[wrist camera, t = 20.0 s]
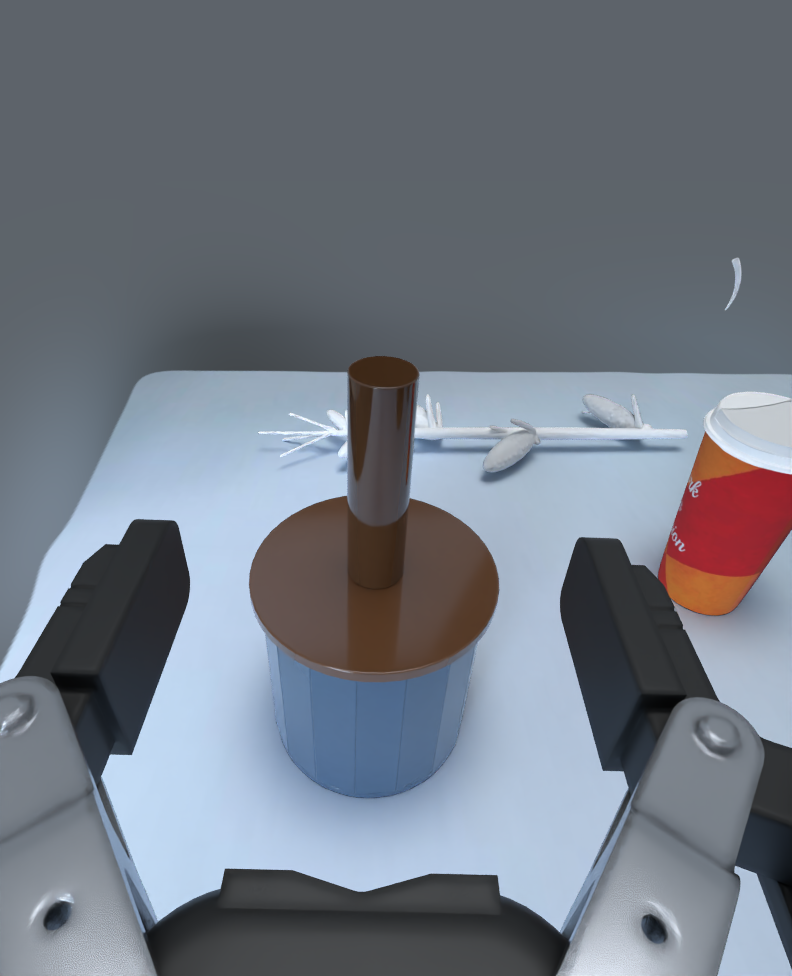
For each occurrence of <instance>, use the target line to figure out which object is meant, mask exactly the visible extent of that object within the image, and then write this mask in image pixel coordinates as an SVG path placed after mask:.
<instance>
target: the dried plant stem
mask: <svg viewBox="0 0 792 976" xmlns="http://www.w3.org/2000/svg"><path fill="white" fill-rule="evenodd" d="M732 263H733V266H734V270H735V287H734V291H733V294H732V297H731V299H730V302H729V304H728V305H727V307H726V309H727V308H728V307H729V306H730V305H731V303H732V302H733V300H734V298H735V296H736V294H737V292H738V289H739V286H740V282H741V264H740V260H739V258H735V259H733V260H732ZM726 309H725V310H726ZM631 401H632V407H633V412H634V415H633V414H632V413H631V412H630V411H628V410H627V409H626V408H625V407H622V406H621V405H619V404H617V403H615V402H613V401H611V400H609V399H607V398H604V397H601V396H598V395H592V394H588V395H585V396H583V403H584V405H585V407H586V408H587V409H588V410H589V412H586V411H582V412H581V413H591V414H592V415H593V416H595V417H596V418H597V419H598V420H600V421H601V422H602V423H604V424H605V425H607V426H609V428H546V427H533V426H531V425H530V424H528V423H525V422H523V421H520V420H516V419H511V423H513V424H515V425H518V426H519V427H497V426H490V427H467V428H443V422H442V414H441V408H440V404H439V402H437V403H436V418H437V423H436V422H435V419H434V415H433V410H432V404H431V400H430V396H429V395H426V409H427V411H426V410H424V409H423V408H422V407H420V406H419V405H417V411H416V424H415V436H414V438H423V439H428V440H439V439H502V440H501V441H500V442H499V443H497V444H496V445H495V446H494V447H493V448H492V449H491V451H490V452H489V453H488V454H487V456H486V458H485V460H484V462H483V468H484V470H485V471H487V472H497V471H500V470H504V469H506V468H507V467H510V466H512V465H514V464H515V463H516V462H517V461H519V460H520V459H521V458H522V457H524V456H525V454H526V453H528V452H529V451H530V449H531V447H532V446H533V445H534V444H535V445H539V444H540V440H615V439H685V438H687V437H688V435H687V430H683V429H653V428H652V426H651V425H649V424H644V423H643V422H642V418H641V415H640V412H639V408H638V404H637V400H636V397H635V395H634V394H632V395H631ZM289 415H291V416H294V417H296V418H299V419H301V420H304V421H307V422H309V423H312V424H315V425H318V426H320V427H322V428H325V429H327V430H326V431H308V432H269V431H267V432H261V431H260V432H258V434H303V435H307V436H298V437H290V438H283V439H282V440H283V441H286V440H295V439H304V438H311V437H318V438H316V439H314V440H312V441H309V442H307V443H305V444H303V445H301V446H298V447H296V448H294V449H292V450H290V451H288V452H286V453H283V454H281V455H280V457H283V456H286V455H288V454H290V453H292V452H294V451H296V450H298V449H301V448H303V447H305V446H307V445H309V444H312V443H314V442H316V441H318V440H321V439H323V438H326V437H328V436H347V410H345V417H344V416H343V415H341V414H340V413H338V412H336V411H334V410H328V411H327V416H328V418H329V419H330V421H331V422H332V423H333V424H334V425H335V426H336V427H337V428H338V430H336V429H335V428H333V427H330V426H326V425H323V424H320V423H318V422H315V421H312V420H309V419H307V418H304V417H301V416H298V415H296V414H293V413H289ZM338 456H339V457H340V458H347V442H346V443H344V444H343V446H342V447H341V448H340V450H339V452H338Z"/></svg>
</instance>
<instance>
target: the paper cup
mask: <svg viewBox="0 0 792 976" xmlns="http://www.w3.org/2000/svg"><path fill="white" fill-rule="evenodd" d="M703 425H704V429H705V434H704V437H703V440H702V443H701V445H700V448H699V451H698V454H697V457H696V460H695V463H694V466H693V469H692V472H691V475H690V477H689V480H688V483H687V486H686V489H685V492H684V495H683V498H682V501H681V504H680V507H679V509H678V512H677V515H676V518H675V521H674V524H673V527H672V530H671V533H670V536H669V539H668V542H667V545H666V548H665V551H664V554H663V557H662V561H661V564H660V568H659V572H658V580H659V581H660V582H661V583H662V584H663V585H664V586H665V588H666V590H667V592H668V595H669V597H670V598H671V599H672V600H674V601H675V602H676V603H678V604H679V605H681V606H683V607H685V608H687V609H689V610H691V611H694V612H697V613H701V614H705V615H724V614H727V613H730V612H731V611H733V610H734V609H735V608H736V607H737V606H738V605H739V603H740V602H741V601H742V600H743V598H744V597H745V595H746V594H747V593H748V591H749V590H750V589H751V587H752V586H753V584H754V583H755V582H756V580H757V579H758V577H759V576H760V574H761V573H762V572H763V570H764V569H765V567H766V566H767V564H768V563H769V562H770V560H771V559H772V557H773V556H774V554H775V553H776V551H777V550H778V549H779V547H780V546H781V544H782V543H783V541H784V540H785V539H786V537H787V536H788V534H789V533H790V531H791V530H792V399H791V398H788V397H784V396H780V395H775V394H769V393H762V392H739V393H734V394H730V395H728V396H726V397H725V398H723V399H722V400H721V401H720V402H719V403H718V405H717V406H716V408H714V409H712V410H711V411H710V412H709V413H707V414H706V416H705V418H704V421H703Z"/></svg>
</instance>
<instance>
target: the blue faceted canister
mask: <svg viewBox="0 0 792 976" xmlns="http://www.w3.org/2000/svg"><path fill="white" fill-rule="evenodd" d="M265 636H266V644H267V652H268V660H269V668H270V676H271V684H272V692H273V700H274V708H275V717H276V723H277V726H278V728H279V732H280V736H281V739H282V742H283V744H284V747H285V749H286V751H287V753H288V754H289V756H290V757H291V759H292V760H293V762H294V763H295V764H296V766H297V767H298V768H299V769H300V770H301V771H302V772H303V773H304V774H305V775H307V776H308V777H309V778H310V779H311V780H313V781H314V782H316V783H318V784H319V785H321V786H323V787H325V788H327V789H329V790H332V791H334V792H337V793H340V794H344V795H347V796H354V797H361V798H377V797H385V796H390V795H394V794H398V793H401V792H404V791H406V790H409V789H411V788H413V787H415V786H417V785H419V784H420V783H422V782H424V781H425V780H426V779H428V778H429V777H430V776H432V775H433V774H434V773H435V772H436V771H437V770H438V769H439V768H440V767H441V766H442V765H443V763H444V762H445V761H446V759H447V758H448V756H449V755H450V753H451V751H452V749H453V747H454V746H455V744H456V740H457V737H458V734H459V729H460V725H461V721H462V717H463V713H464V708H465V703H466V698H467V694H468V689H469V684H470V679H471V674H472V669H473V664H474V659H475V654H476V650H477V645H478V643H477V644H476V645H475V646H474V647H473V648H472V649H470V650H469V651H468V652H467V653H466V654H465V655H464V656H462V657H461V658H459V659H458V660H456V661H455V662H453V663H452V664H450V665H448V666H446V667H444V668H442V669H440V670H438V671H435V672H432V673H429V674H427V675H424V676H421V677H417V678H412V679H407V680H403V681H394V682H384V683H378V682H358V681H350V680H344V679H340V678H336V677H332V676H328V675H325V674H322V673H320V672H317V671H314V670H312V669H310V668H308V667H306V666H304V665H302V664H300V663H298V662H296V661H295V660H293V659H292V658H291V657H289V656H288V655H286V654H285V653H284V652H282V651H281V650H280V649H279V648H278V647H277V646H276V645H275V644H274V643H273V642H272V641H271V640H270V639H269V638H268V636H267V635H266V634H265Z"/></svg>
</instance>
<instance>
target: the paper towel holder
mask: <svg viewBox="0 0 792 976" xmlns="http://www.w3.org/2000/svg"><path fill="white" fill-rule="evenodd" d="M418 386H419V371H418V369H417V368H416V367H415V366H414V365H413V364H411V363H410V362H407V361H405V360H402V359H399V358H394V357H387V356H375V357H367V358H363V359H360V360H357V361H356V362H354V363H352V364H351V365H350V367H349V368H348V383H347V496H342V497H338V498H333V499H329V500H325V501H322V502H319V503H316V504H313V505H311V506H309V507H306V508H304V509H302V510H300V511H298V512H297V513H295V514H293V515H291V516H290V517H288V518H287V519H285V520H284V521H283V522H281V523H280V524H279V525H278V526H277V527H276V528H274V529H273V530H272V531H271V532H270V534H269V535H268V536H267V537H266V538H265V539H264V541H263V542H262V544H261V545H260V547H259V549H258V550H257V552H256V555H255V557H254V559H253V562H252V566H251V570H250V576H249V589H250V597H251V605H252V608H253V611H254V614H255V617H256V619H257V621H258V623H259V625H260V626H261V628H262V630H263V631H264V632H265V634H266V635H267V636H268V638H269V639H270V640H271V641H272V642H273V643H274V644H275V645H276V646H277V647H278V648H279V649H280V650H281V651H282V652H284V653H285V654H286V655H288V656H289V657H291V658H292V659H293V660H295V661H296V662H298V663H300V664H302V665H304V666H306V667H308V668H310V669H312V670H314V671H317V672H320V673H322V674H325V675H328V676H332V677H336V678H340V679H344V680H350V681H358V682H378V683H384V682H394V681H403V680H407V679H412V678H417V677H421V676H424V675H427V674H429V673H432V672H435V671H438V670H440V669H442V668H444V667H446V666H448V665H450V664H452V663H453V662H455V661H456V660H458V659H459V658H461V657H462V656H464V655H465V654H466V653H467V652H468V651H469V650H470V649H472V648H473V647H474V646H475V645H476V644H477V643H478V641H479V640H480V639H481V638H482V636H483V635H484V634H485V633H486V631H487V629H488V627H489V625H490V624H491V622H492V619H493V616H494V613H495V610H496V606H497V601H498V595H499V578H498V573H497V568H496V565H495V563H494V560H493V558H492V555H491V554H490V552H489V550H488V548H487V547H486V545H485V544H484V543H483V541H482V540H481V539H480V538H479V536H478V535H477V534H476V533H475V532H474V531H473V530H472V529H471V528H470V527H468V526H467V525H466V524H464V523H463V522H462V521H461V520H459V519H458V518H456V517H454V516H453V515H451V514H450V513H448V512H446V511H444V510H442V509H440V508H438V507H435V506H433V505H430V504H427V503H425V502H421V501H418V500H414V499H411V498H410V486H411V473H412V461H413V448H414V436H415V424H416V411H417V399H418Z"/></svg>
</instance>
